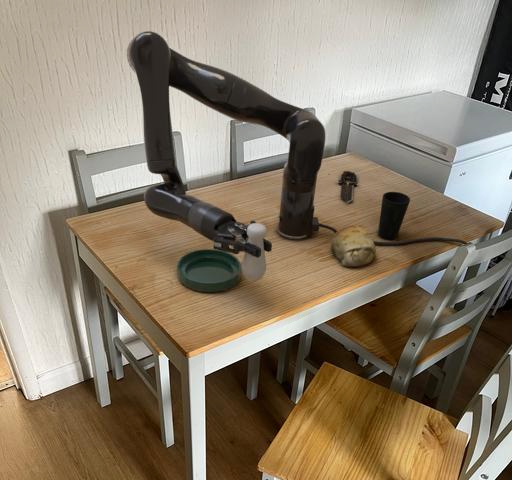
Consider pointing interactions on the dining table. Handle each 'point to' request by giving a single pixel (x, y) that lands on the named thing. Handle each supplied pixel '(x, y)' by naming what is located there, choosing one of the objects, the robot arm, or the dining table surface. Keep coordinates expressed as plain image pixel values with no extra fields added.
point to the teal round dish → (209, 270)
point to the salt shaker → (251, 264)
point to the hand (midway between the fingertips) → (265, 250)
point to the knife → (350, 185)
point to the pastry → (353, 246)
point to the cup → (392, 214)
